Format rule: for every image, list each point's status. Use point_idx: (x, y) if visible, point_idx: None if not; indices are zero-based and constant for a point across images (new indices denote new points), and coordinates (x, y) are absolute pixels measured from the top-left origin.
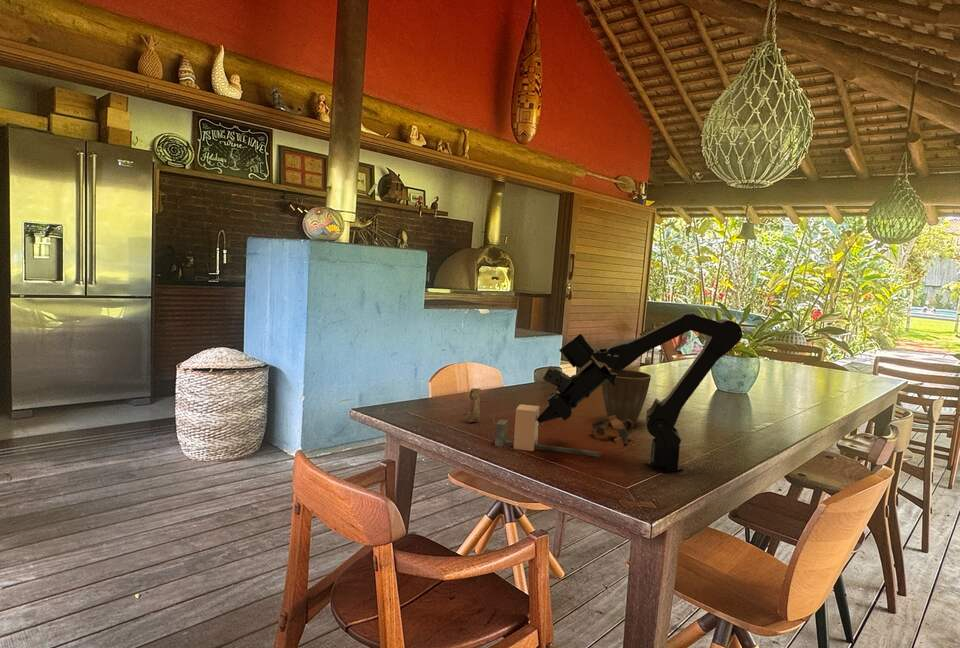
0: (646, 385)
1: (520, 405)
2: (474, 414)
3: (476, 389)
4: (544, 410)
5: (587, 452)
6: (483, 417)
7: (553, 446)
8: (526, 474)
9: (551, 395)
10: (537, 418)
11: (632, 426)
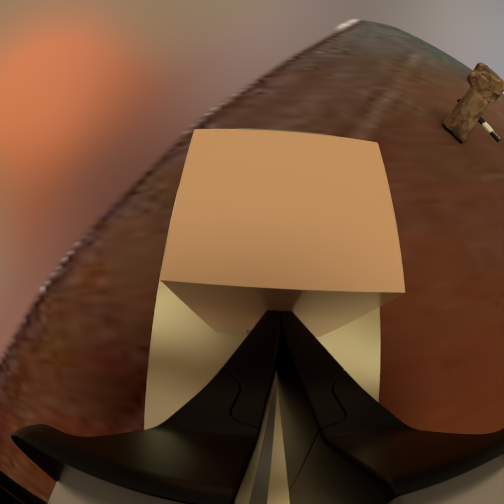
0: None
1: (341, 143)
2: (459, 118)
3: (488, 70)
4: (223, 367)
5: None
6: (496, 155)
7: (271, 414)
8: (36, 312)
9: (382, 484)
10: (264, 313)
11: None
